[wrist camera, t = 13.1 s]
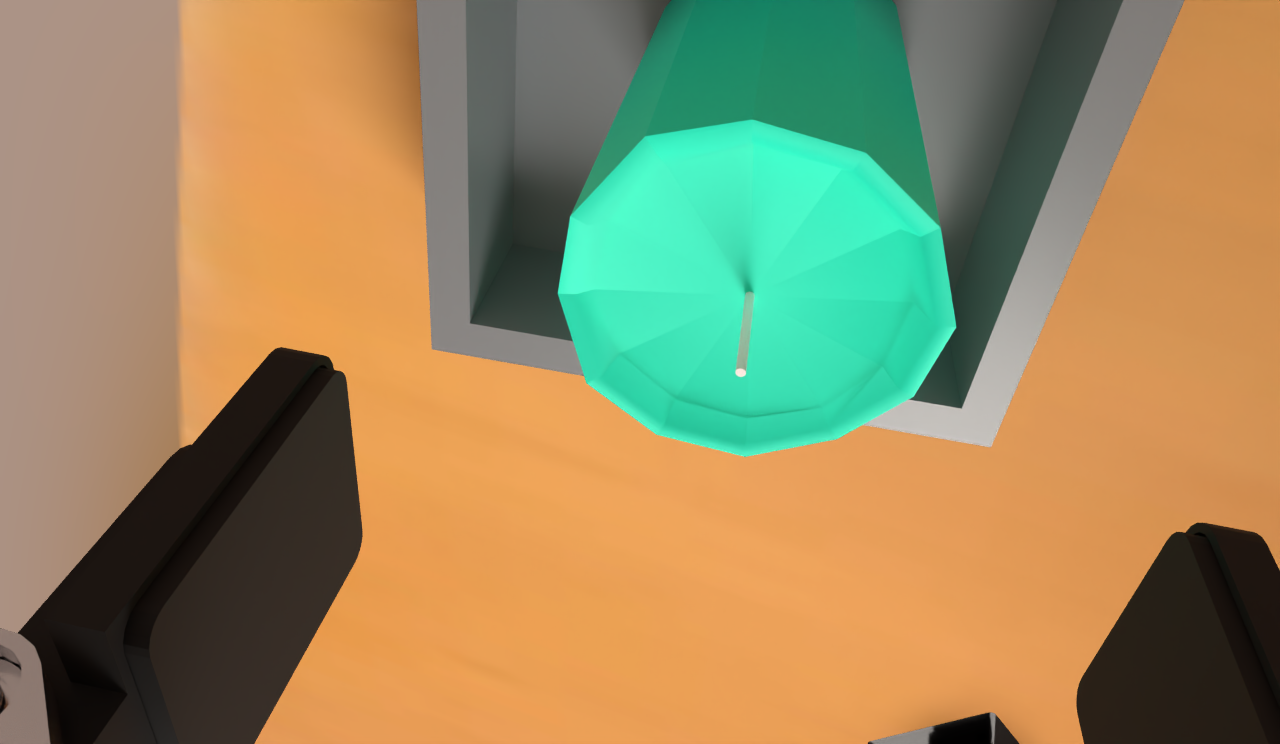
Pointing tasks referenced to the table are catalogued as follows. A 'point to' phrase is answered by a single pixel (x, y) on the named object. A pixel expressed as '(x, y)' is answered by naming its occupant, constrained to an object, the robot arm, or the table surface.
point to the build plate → (957, 733)
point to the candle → (761, 229)
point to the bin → (952, 133)
